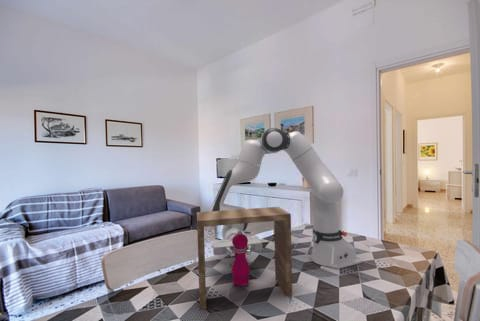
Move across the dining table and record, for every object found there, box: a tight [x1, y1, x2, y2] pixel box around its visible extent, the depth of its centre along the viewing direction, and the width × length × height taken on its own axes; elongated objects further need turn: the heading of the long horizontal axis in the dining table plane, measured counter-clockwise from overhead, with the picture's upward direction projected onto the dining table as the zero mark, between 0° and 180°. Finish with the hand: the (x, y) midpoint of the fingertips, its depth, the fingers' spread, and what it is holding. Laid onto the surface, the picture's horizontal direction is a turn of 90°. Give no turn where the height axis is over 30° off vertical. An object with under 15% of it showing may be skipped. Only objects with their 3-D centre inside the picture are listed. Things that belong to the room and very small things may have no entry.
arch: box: [196, 206, 293, 310], centre depth 87 cm, size 32×12×29 cm, turn 101°
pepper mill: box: [231, 230, 251, 287], centre depth 92 cm, size 7×7×20 cm
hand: (240, 253), depth 91 cm, fingers closed on pepper mill, 5 cm apart
